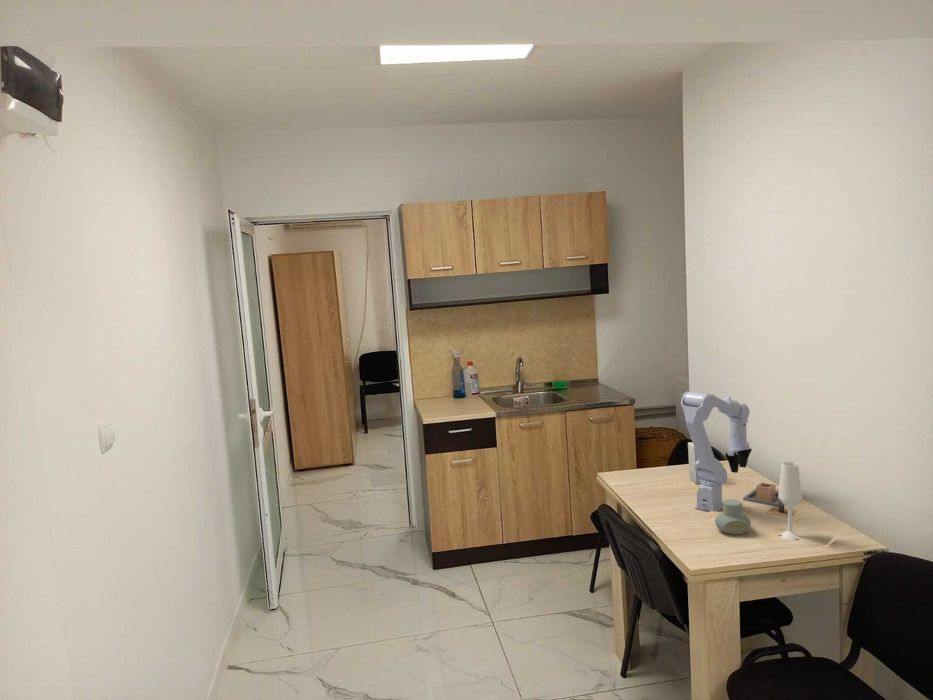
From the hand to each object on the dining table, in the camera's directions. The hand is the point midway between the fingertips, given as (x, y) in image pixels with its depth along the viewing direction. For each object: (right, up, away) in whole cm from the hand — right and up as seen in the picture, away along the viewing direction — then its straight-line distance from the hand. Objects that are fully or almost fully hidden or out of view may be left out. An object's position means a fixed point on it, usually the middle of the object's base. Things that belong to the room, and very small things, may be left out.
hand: (738, 469), depth 251 cm
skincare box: (-8, -8, +20) cm, 23 cm away
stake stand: (+7, -12, -19) cm, 24 cm away
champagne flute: (+1, -15, -38) cm, 41 cm away
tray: (+8, -10, -6) cm, 14 cm away
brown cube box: (+8, -10, -6) cm, 14 cm away
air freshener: (-15, -15, -31) cm, 37 cm away
